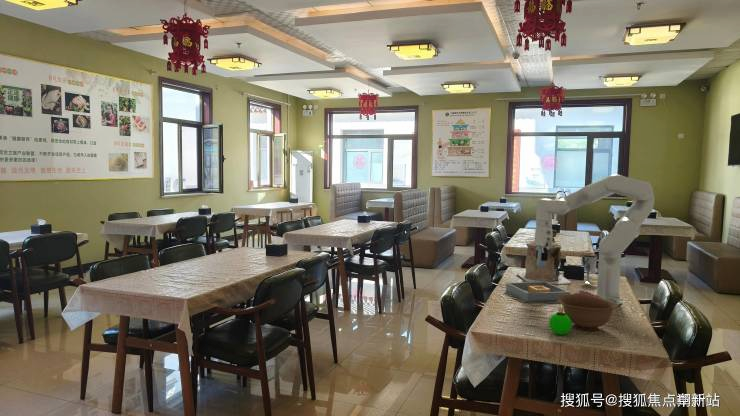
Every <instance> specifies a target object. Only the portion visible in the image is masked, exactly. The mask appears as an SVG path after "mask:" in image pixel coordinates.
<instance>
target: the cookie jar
mask: <svg viewBox="0 0 740 416" xmlns="http://www.w3.org/2000/svg"><path fill="white" fill-rule="evenodd" d="M552 233H553V244H552V247H551V249H550V250H549V252H548V260H547V261H546V267H540V266H537V261H538V259H536V254H537V251H536V245H535V240H532V241H528V242H526V247H527V252H526V256H525V262H524V267H525V271H522V270H521V271H520V270H517V271H516V275H517V276H519V277H520V278H522V279H523V280H524V282H548V283H550V284H552V285H570V284H571V283H572V282H571V280H570V279H567V278H566V277H565V276H562V275H560V273H561V272H560V270H559V266H560V264H561V261H562V256H561V255H562V253H561V249H562V246H561V244H559V243H558V242H556V241H555V238H556V237H557V230H555V229H552ZM545 246H546V245H545Z"/></svg>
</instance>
